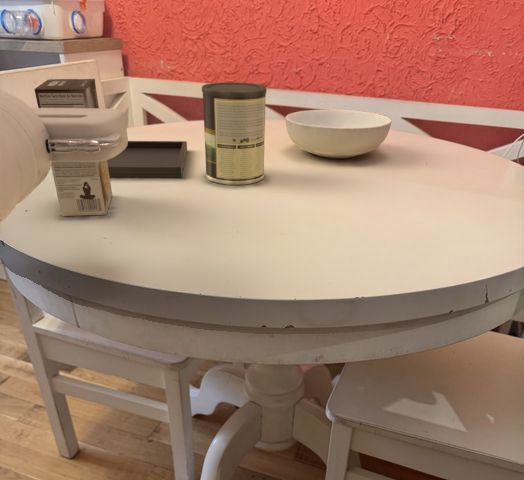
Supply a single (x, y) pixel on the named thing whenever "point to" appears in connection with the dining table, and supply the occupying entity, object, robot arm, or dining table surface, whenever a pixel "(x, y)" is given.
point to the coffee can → (234, 132)
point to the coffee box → (77, 173)
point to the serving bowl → (337, 132)
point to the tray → (149, 160)
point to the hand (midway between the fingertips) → (40, 117)
